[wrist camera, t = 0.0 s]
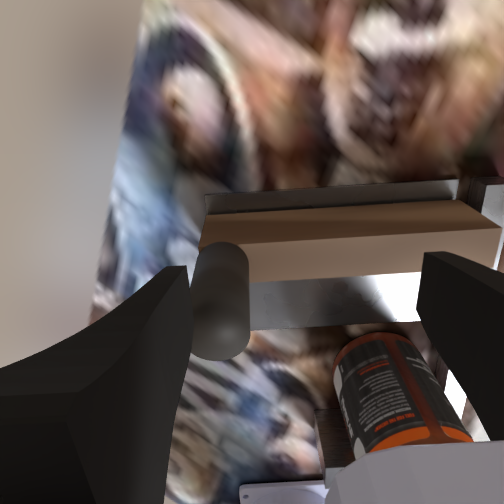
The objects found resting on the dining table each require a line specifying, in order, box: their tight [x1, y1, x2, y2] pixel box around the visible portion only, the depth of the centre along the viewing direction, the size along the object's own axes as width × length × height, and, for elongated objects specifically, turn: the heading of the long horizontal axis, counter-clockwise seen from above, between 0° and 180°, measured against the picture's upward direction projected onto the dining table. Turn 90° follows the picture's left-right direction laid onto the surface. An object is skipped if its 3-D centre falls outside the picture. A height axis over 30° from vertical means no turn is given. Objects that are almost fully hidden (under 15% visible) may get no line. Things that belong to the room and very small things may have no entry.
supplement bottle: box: [332, 332, 474, 460], centre depth 21 cm, size 6×6×11 cm
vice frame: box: [205, 176, 504, 489], centre depth 23 cm, size 18×16×4 cm
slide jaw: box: [190, 199, 503, 361], centre depth 17 cm, size 2×14×9 cm, turn 94°
